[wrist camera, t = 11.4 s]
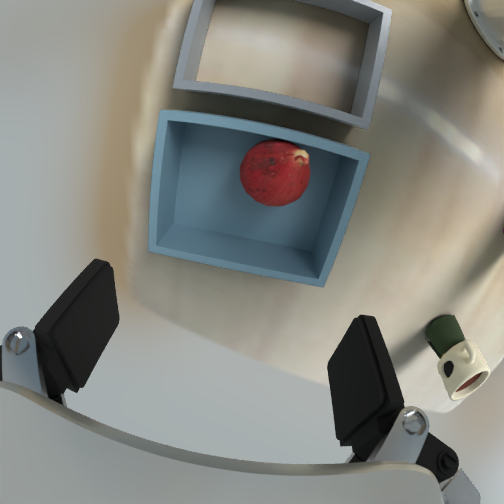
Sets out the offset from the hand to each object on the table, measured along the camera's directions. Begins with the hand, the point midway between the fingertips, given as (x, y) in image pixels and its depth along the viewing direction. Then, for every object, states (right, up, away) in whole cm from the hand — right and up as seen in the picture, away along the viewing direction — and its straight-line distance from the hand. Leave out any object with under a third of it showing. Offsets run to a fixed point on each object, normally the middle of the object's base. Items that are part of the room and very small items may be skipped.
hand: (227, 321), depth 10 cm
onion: (+1, +9, +16) cm, 18 cm away
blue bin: (+1, +9, +17) cm, 20 cm away
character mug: (+31, -10, +26) cm, 42 cm away
